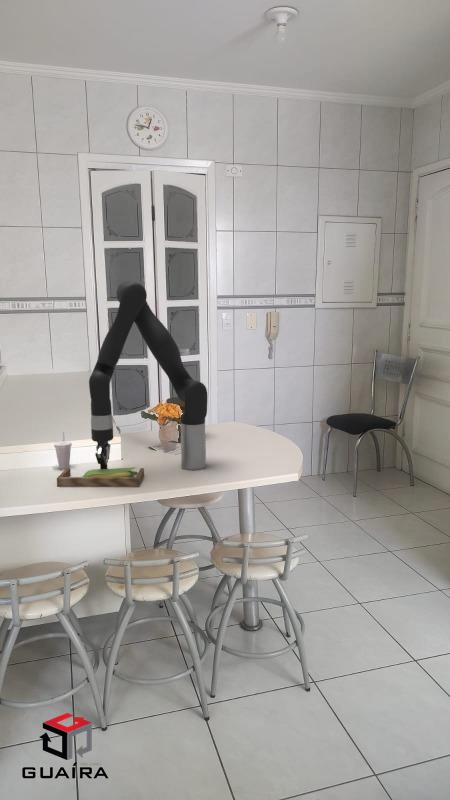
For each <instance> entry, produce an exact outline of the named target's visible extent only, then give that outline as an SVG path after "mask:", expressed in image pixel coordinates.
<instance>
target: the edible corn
mask: <svg viewBox="0 0 450 800" xmlns="http://www.w3.org/2000/svg"><path fill="white" fill-rule="evenodd" d="M135 469H136V467H135V466H134V467H123V468H122V467H120V468H119V467H117V468H108V469H99V468H97V469H89V470H87V471H86V472H85V473H84V475H83V476H82V477H136V476H137V474H138V472H139V471H133V470H135Z"/></svg>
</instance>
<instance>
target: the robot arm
mask: <svg viewBox="0 0 450 800" xmlns="http://www.w3.org/2000/svg"><path fill="white" fill-rule="evenodd" d="M147 297H148V294H147V291H146V288H145V287H144V286H143V285H142V284H141V283H140V282H136V281H133V280H127V281H123V282H121V283H120V284H119V285H118V286H117V289H116V298H117V301H118V303H119V306H118V309H117V313H116V315H115V318H114V321H113V322H112V324H111V326H110V328H109V329H108V332H106V333H107V334H106V335H105V337H104V339H103V342H102V344H101V347H100V350H99V352H98V356H97V361H96V363H95V366H94V368H93V370H92V372H91V375H90V376H89V379H88V386H89V387H88V388H89V389H88V390H89V395H90V413H91V414H90V415H91V416H90V430H91V440H92V441H93V442H96V443H97V444H96V446H95V450H96V452H95V455H94V456H95V458H96V461H97V464H98V465H100V466H99V467H100V469H109V468H108V463H109V460H110V452H111V444H110V443H109V442H110V441H113V440H114V421H113V415H112V414H113V413H112V401H111V386H110V385H111V381H112V377H113V375H114V371H115V368H116V366H117V364H118V363H119V361H120V357H121V355H122V353H123V349H124V347H125V344H126V342H127V339H128V336H129V334H130V332H131V329H132V327H133V325H134V324H135V325H136V327H137V329H138V331H139V333H140V336H142V338H143V340H144V342H145V344H146V346H147V348H148V349H149V351H150V352H151V354H152V355H153V356H152V357H154V359H155V360H156V361H157V363H158V364H159V366H160V367H161V369H162V370H163V371H164V373H165V375H166V376H167V378H168V380H169V381H170V383H171V385H172V387H173V390H174V391H175V394H176V395H177V397H179V399H180V400H181V401H182V402H184V403H185V409H184V414H182V415H181V418H180V419H181V443H180V463H181V464H180V465H181V468H182V469H184V470H191V471H192V470H193V471H197V470H202V469H204V470H205V469H206V466H207V450H206V449H207V442H206V417H207V414H208V389H207V387H206V385H205V384H204V383H203V382H202V381H198V380H196V379H194V378H193V377H192V376H191V375H190V374H189V372H188V370H187V369H186V368H185V366H184V363H183V361H182V356H181V353H180V349H179V347H178V344H177V343H176V341H175V339H174V338H173V336H172V334H171V332H169V330H168V329H167V328H166V326H165V325H164V323H162V322H161V320H160V319H159V317H157V315H156V314H155V313H154V312H153V311H152V309H151V308H150V305H149V303H148V301H147Z"/></svg>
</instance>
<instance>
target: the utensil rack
mask: <svg viewBox="0 0 450 800" xmlns="http://www.w3.org/2000/svg"><path fill="white" fill-rule="evenodd" d="M137 472H138V474H137V475H135V476H134V477H83V476H82V477H81V476H72V477H71V467H69V468H66V469H63V471H62V472H61V473H60V474H59V475H58V476H57V477H56V487H59V488H61V487H64V488H65V487H67V488H68V487H71V488H72V487H73V488H81V487H83V488H85V487H87V488H88V487H89V488H90V487H91V488H101V487H102V488H103V487H105V488H113V487H114V488H139V487H140V485H141V483H142V481H143V479H144V477H145V468H143V467H140V469H139V470H138V471H137Z"/></svg>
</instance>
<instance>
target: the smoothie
mask: <svg viewBox="0 0 450 800" xmlns="http://www.w3.org/2000/svg"><path fill="white" fill-rule="evenodd" d="M53 444H54V447H53V448H55V453H56V458H57V463H58V464H57V465H58V469H59V470H65V469H66V468H70V463H71V452H72V451H71V449H72V448H71V447H72V445H73V444H72V441H68V440H65V432H64V431H62V441H57V442H55V443H53Z"/></svg>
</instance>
